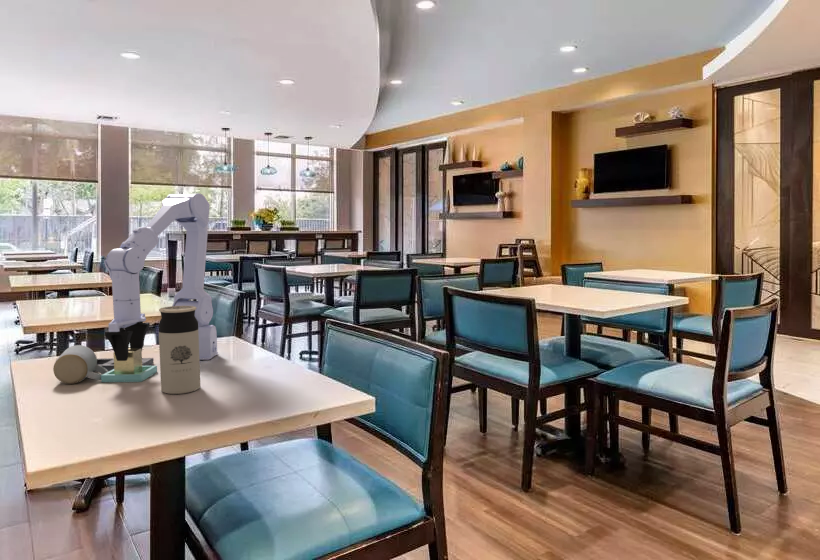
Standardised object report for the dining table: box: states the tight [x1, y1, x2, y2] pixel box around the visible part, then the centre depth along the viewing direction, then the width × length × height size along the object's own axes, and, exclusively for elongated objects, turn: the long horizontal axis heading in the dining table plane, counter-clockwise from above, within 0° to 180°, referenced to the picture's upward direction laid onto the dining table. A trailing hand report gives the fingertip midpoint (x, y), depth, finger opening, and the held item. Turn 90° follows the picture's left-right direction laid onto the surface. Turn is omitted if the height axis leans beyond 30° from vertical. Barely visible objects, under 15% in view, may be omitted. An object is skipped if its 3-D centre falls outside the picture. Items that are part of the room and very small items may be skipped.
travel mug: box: [158, 305, 201, 395], centre depth 125 cm, size 8×8×18 cm
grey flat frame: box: [93, 357, 154, 373], centre depth 146 cm, size 18×8×2 cm, turn 92°
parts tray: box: [100, 365, 158, 383], centre depth 137 cm, size 9×9×2 cm
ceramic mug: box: [52, 344, 108, 385], centre depth 134 cm, size 11×8×8 cm
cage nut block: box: [113, 347, 143, 374], centre depth 137 cm, size 4×4×6 cm
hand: (129, 356), depth 137 cm, fingers open, 7 cm apart
